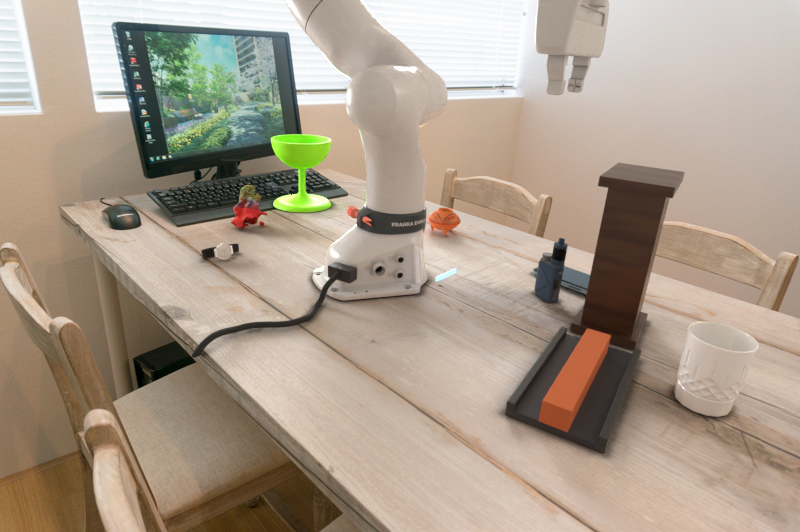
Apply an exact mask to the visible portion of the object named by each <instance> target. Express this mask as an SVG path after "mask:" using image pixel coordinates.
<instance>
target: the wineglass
mask: <svg viewBox="0 0 800 532" xmlns="http://www.w3.org/2000/svg"><path fill="white" fill-rule="evenodd" d="M270 143H271V148H272V150H273V152H274V154H275V156H276V157H277V158H278V159H279V161H281V162H282V163H283V164H285V165H286V166H287V167H290V168H293V169H295V170H297V171H298V191H297V193H294V194H293V193H291V194H292V195H291V194H286V195H282V196H280V197H277V198H276V199H275V200H274V201H273V204H272V205H273V207H274V208H275V209H277V210H280V211H283V212H289V213H316V212H322V211H326V210H327V209H329V208H331V207H332V203H331V201H330V200H329V199H328V198H327V197H324V196H323V195H322V196H321V195H317V194H311V193H307V184H306V182H307V180H306V178H307V177H306V175H307V174H306V170H310V169H313V168H315V167H317V166H319V165H320V164H321V163H322V162H323V161H324V160H325V159H326V158H327V156H329V152H330V151H331V147H332V139H331V138H330V137H327V136H323V135H316V134H301V133H300V134H299V133H297V134H295V133H292V134H280V135H279V134H278V135H274V136H272V137H270Z"/></svg>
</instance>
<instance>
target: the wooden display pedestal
mask: <svg viewBox="0 0 800 532" xmlns="http://www.w3.org/2000/svg"><path fill="white" fill-rule="evenodd" d="M685 173H686V172H685V171H681V170H674V169H666V168H660V167H654V166H645V165H638V164H633V163H632V164H630V163H624V162H617V163H615V164H614V165H613V166H611V167H610V168H609V169H608V170H606V171H605V172H603V173H602V174H600V175H599V177H598V182H597V187H601V188H606V189H607V192H606V196H605V202H604V206H603V211H602V216H601V220H600V226H599V230H598V234H597V241H596V245H595V251H594V255H593V260H592V265H591V269H590V274H589V275H590V279H589V284H588V289H587V293H586V295H585V297H584V304H583V306H582V308H581V309H580V311H579V312H578V313H577V315H576V317H574V319H573V320H572V322H571V325H570V330H569V331H570V332H572V333H575V334H579V335H581V336H583V334H584V333H585V331H586V330H587V328H588V329H592V330H595V331H598V332H602V333H605V334H609V335H611V338H610V343H609V344H612V345H615V346H619V347H622V348H626V349H629V350H634V348H636V347H637V345H638V342H639V340H640V338H641V335H642V332H643V330H644V327H645V325H646V323H647V319H648V315H649V313H647V312H644V311H642V309H643V307H644V306H643V305H644V302H645V298H646V294H647V290H648V286H649V282H650V278H651V274H652V270H653V266H654V262H655V259H656V254H657V250H658V246H659V242H660V239H661V234H662V231H663V226H664V222H665V219H666V214H667V210H668V206H669V203H670V199H673V198H674V197H675V195H676V193H677V191H678V190H679V188H680V186H681V185H682V183H683V180H684V177H685Z"/></svg>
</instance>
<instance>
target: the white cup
mask: <svg viewBox="0 0 800 532" xmlns="http://www.w3.org/2000/svg"><path fill="white" fill-rule="evenodd" d="M682 347H683V348H682V351H681V356H680V359H679V366H678V369H677V378H676V382H675V386H674V390H673V391H674V398H675V399H676V400H677V401H678V402H679V403H680V404H681V405H682V406H683V407H685V408H687V409H688V410H690V411H692V412H695V413H697V414H699V415H703V416H707V417H716V418H719V417H724V416H728V414H729V413H730V412H731V411H732V408H733V406H734V404H735V401H736V399H737V398H738V397H739V394H740V392H741V390H742V388H743V386H744V383H745V381H746V379H747V377H748V375H749V372H750V369H751V367H752V364H753V362H754V360H755V358H756V355H757V353H758V350H759V347H760V344H759V342H758V341H757V339H755V337H753V336H752V335H750V334H749V333H748V332H746V331H743V330H742V329H739V328H737V327H734V326H731V325H729V324H724V323H720V322H715V321H704V320H703V321H695V322H692V323H690V324H689V325H688V326H687V330H686V334H685V339H684V343H683V346H682Z"/></svg>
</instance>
